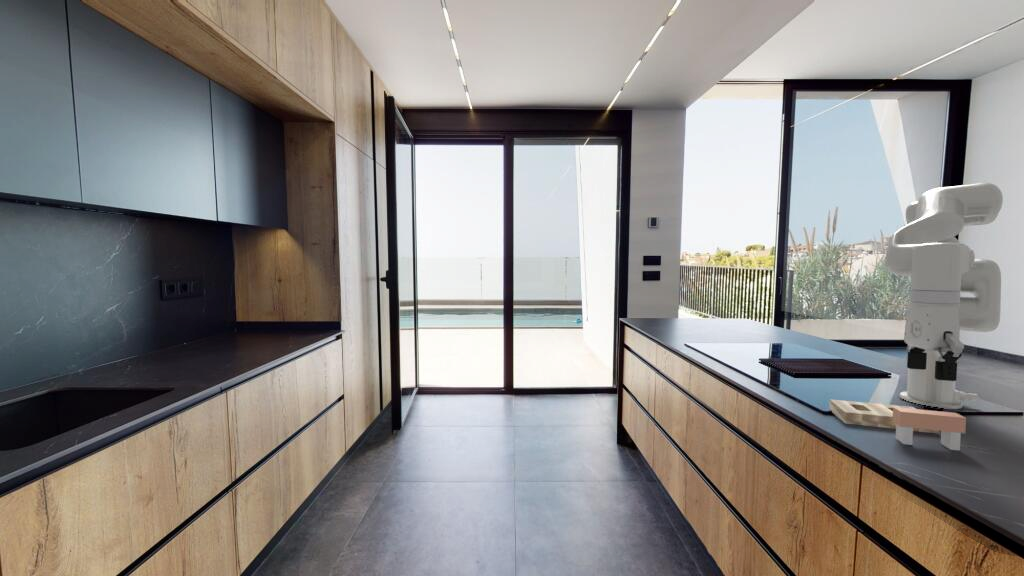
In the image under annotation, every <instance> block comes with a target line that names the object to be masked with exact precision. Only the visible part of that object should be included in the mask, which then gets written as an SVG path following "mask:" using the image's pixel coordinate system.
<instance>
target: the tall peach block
mask: <svg viewBox="0 0 1024 576" xmlns="http://www.w3.org/2000/svg"><path fill="white" fill-rule="evenodd" d="M893 422H894V423H895V424H896V429H895V440H897V441H898V442H900V443H901V444H902V445H906V446H907V445H908V446H909V445H911V446H913V438H914V437H913V436H914V431H913V428H918V429H928V430H937V431H938V432H939V431H940V432H941V433H940V444H941V445H942V446H944V447H946V448H947V449H948V450H951V451H959V452H960V450H961V437H962V436H961V435H962V434H966V429H967V428H966V424H967V423H966V422H967V417H965V416H964V415H961V414H960V413H957V412H950V411H938V410H929V409H917V408H916V409H909V408H898V407H893Z"/></svg>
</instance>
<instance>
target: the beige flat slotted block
mask: <svg viewBox="0 0 1024 576" xmlns="http://www.w3.org/2000/svg"><path fill="white" fill-rule="evenodd" d="M828 402H829V403H828V404H829V405H828V410H829V409H830V410H831V411H832V412H831V411H830V410H829V411H830V412H831V413H832V414H834V416H835V417H837V418H838V419H839V420H840V421H842V423H844V424H848V425H854V426H855V425H858V426H866V427H875V428H884V429H885V428H886V429H893V430H896V424H895V423H894V422H893V407H898V408H909V409H917V408H915V407H914V406H906V405H896V404H885V403H876V402H875V403H873V402H863V401H854V400H853V401H852V400H842V399H841V400H839V399H832V398H830V399H828ZM913 432H920V433H928V434H930V433H931V434H938V433H939V431H937V430H928V429H918V428H913Z"/></svg>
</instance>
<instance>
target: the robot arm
mask: <svg viewBox="0 0 1024 576" xmlns="http://www.w3.org/2000/svg"><path fill="white" fill-rule="evenodd" d="M1003 198H1004V197H1003V193H1002V191H1001V189H1000V188H999V187H998V185H996V184H993V183H990V182H981V183H971V184H961V185H954V186H943V187H936V188H932V189H930V190H928V191H925V192H924V193H922V194H921V196H920V197H919V199H917V201H914V202H912V203H910V204H908V205H907V207H906V209H905V220H906V225H905V226H903V227H901V228H899V229H898V230H896V231H895V232H893V234H892V235H891V237H890V239H889V240H888V243H887V246H886V252H885V257H884V258H885V259H884V264H885V268H886V269H887V271H888V272H889V273H890V274H893V275H896V276H910V284H909V285H910V286H909V301H908V303H907V305H906V319H905V325H904V335H903V342H904V343H905V344H906V345H907V346H906V351H907V357H906V368H907V383H906V384H907V387H906V391H902V392H899V397H900V399H902V400H903V399H904V401H905V400H906V401H905V402H908V401H909V403H911V402H913V403H912V404H914V403H916V404H915V405H918V404H921V405H920V406H922V405H926V406H925V407H927V406H931V407H930V408H933V407H938V408H937V409H940V408H944V409H943V410H960V409H962V408H963V406H964V405H963V402H962V401H964V400H967V401H972V402H973V401H974V402H977V401H979V399H980V398H979V395H978V394H977V393H966V392H965V391H961V390H957V389H956V381H957V376H958V375H957V374H958V364H959V362H960V358H962V356H963V355H962V353H963V350H964V349H965V344H964V343H963V342H962V341H961V340H960V337H961V335H960V334H961V333H960V332H962V331H963V332H977V333H978V332H980V333H988V332H989V333H990V332H994V331H995V330H996V329H997V328H999V324H1000V322H1001V302H1002V301H1001V297H1002V295H1001V294H1002V274H1001V273H1002V272H1001V269H1000V266H999V264H998V263H997V262H996V261H994V260H991V259H984V258H975V257H976V256H975V252H974V250H972V249H971V248H970V247H969V245H966V244H964V243H960V241H959V240H958V239H957V238H956V236H958V235H959V234H960V233H961V232H962V231H963V229H964V227H966V226H967V227H969V226H984V225H989V224H991V223H993V222H995V220H996V219H997V217H998V216H999V213H1000V211H1001V210H1002V207H1003ZM961 293H969V294H972V295H973V296H974V297H972V296H971V297H970V296H969V297H968V296H967V297H966V296H961Z"/></svg>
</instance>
